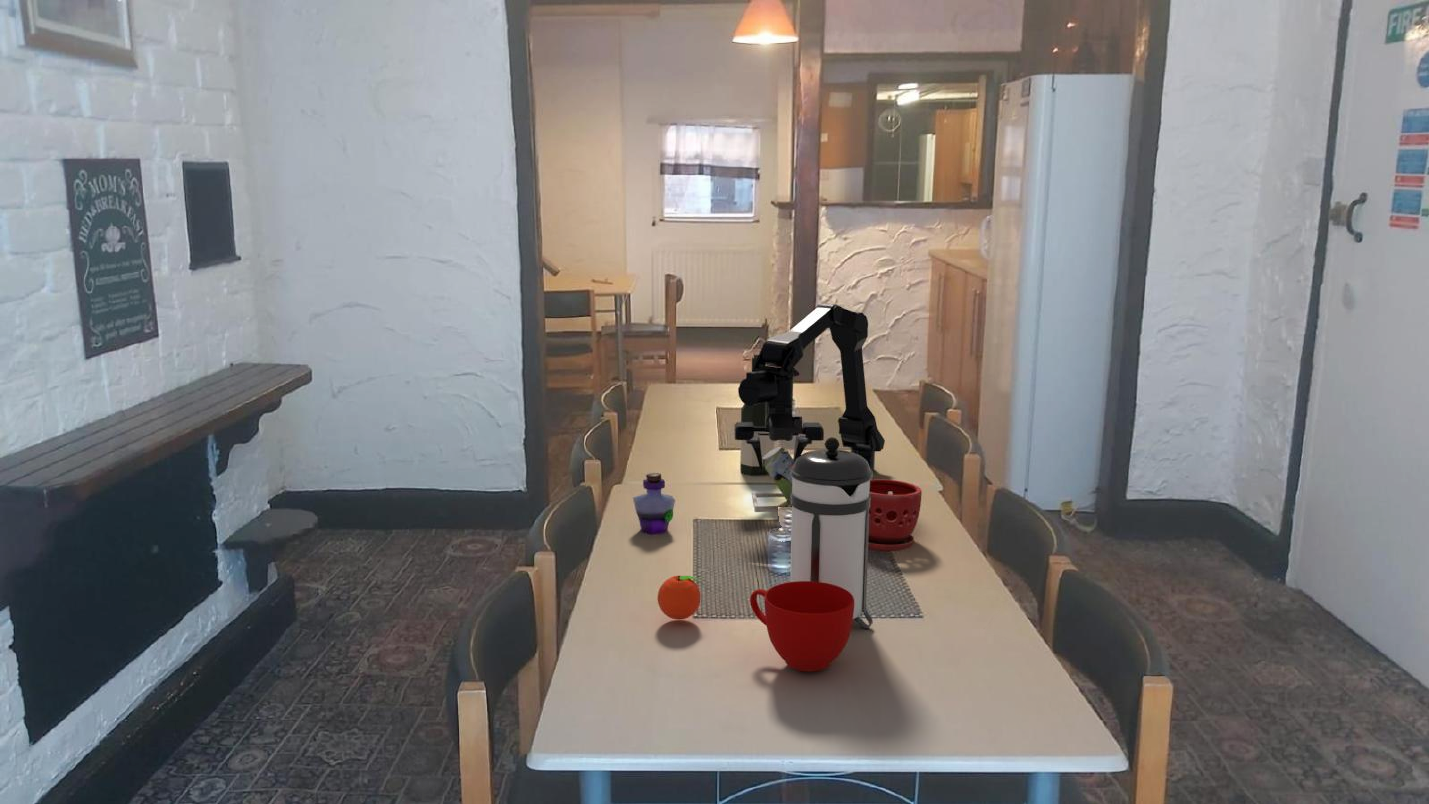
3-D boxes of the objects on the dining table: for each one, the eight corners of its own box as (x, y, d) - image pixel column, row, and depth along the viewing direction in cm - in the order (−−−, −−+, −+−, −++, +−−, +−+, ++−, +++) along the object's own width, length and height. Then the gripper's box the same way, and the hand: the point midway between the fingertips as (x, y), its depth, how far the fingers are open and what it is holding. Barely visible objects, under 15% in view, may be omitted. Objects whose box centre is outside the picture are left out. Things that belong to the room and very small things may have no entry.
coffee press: (890, 611, 177) (897, 432, 171) (851, 646, 163) (857, 453, 158) (795, 591, 186) (799, 420, 180) (750, 622, 172) (753, 438, 166)
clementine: (698, 606, 178) (698, 565, 177) (713, 622, 172) (713, 579, 171) (651, 613, 176) (651, 571, 174) (665, 629, 169) (665, 586, 168)
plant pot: (913, 560, 202) (916, 498, 199) (844, 551, 206) (846, 491, 203) (923, 539, 214) (926, 480, 211) (858, 531, 218) (860, 474, 216)
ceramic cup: (776, 629, 169) (777, 568, 167) (869, 659, 159) (871, 595, 157) (724, 656, 160) (724, 592, 158) (819, 690, 149) (821, 621, 147)
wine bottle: (733, 476, 258) (734, 352, 252) (764, 473, 262) (766, 350, 256) (749, 485, 251) (750, 357, 245) (780, 481, 254) (783, 355, 248)
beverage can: (813, 497, 229) (790, 447, 227) (781, 509, 231) (758, 460, 228) (813, 486, 235) (791, 438, 233) (782, 499, 237) (760, 451, 234)
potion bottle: (670, 540, 212) (670, 480, 209) (628, 537, 213) (627, 478, 211) (679, 526, 220) (679, 469, 218) (637, 524, 221) (637, 467, 219)
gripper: (736, 406, 220) (735, 480, 223) (828, 406, 220) (825, 480, 224) (734, 395, 231) (733, 466, 234) (821, 396, 231) (819, 467, 234)
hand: (777, 470), depth 231 cm, fingers open, 7 cm apart
